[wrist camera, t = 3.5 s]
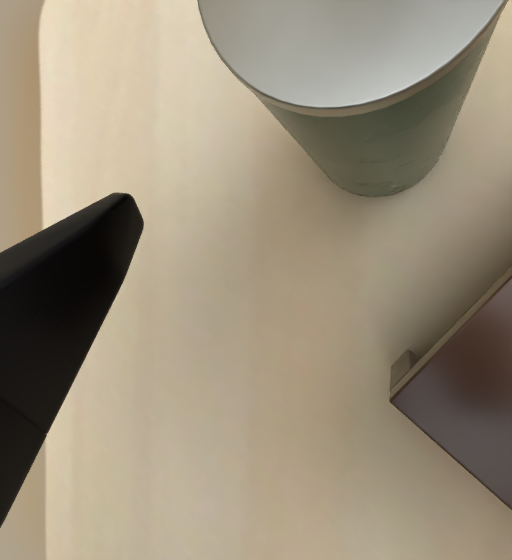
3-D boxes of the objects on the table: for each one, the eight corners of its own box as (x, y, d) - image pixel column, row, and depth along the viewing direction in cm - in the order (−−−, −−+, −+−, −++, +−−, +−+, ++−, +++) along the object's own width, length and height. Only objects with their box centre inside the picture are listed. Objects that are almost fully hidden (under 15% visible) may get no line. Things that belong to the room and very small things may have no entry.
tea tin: (386, 224, 20) (366, 175, 8) (287, 148, 21) (141, 5, 9) (482, 111, 18) (642, -165, 6) (370, 36, 19) (324, -310, 7)
